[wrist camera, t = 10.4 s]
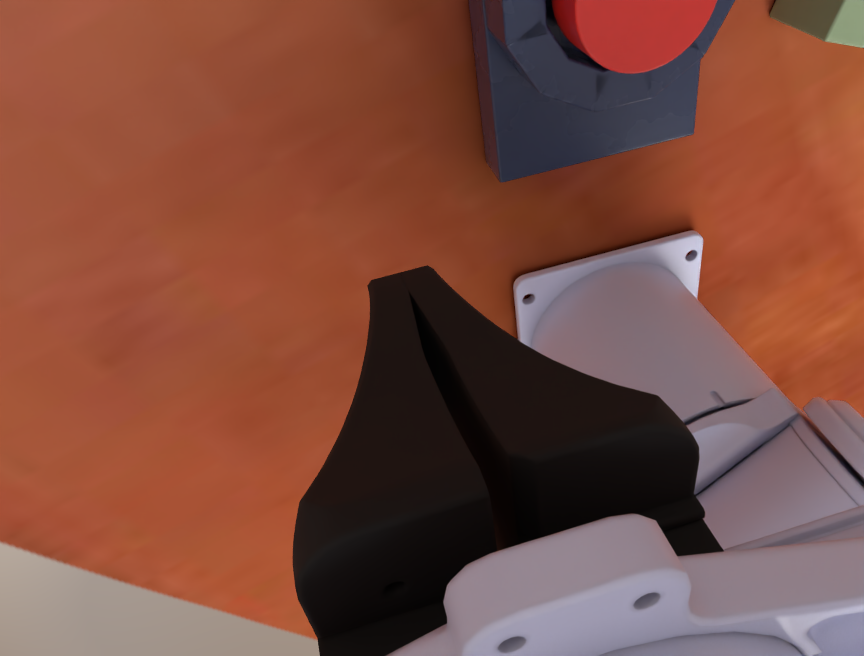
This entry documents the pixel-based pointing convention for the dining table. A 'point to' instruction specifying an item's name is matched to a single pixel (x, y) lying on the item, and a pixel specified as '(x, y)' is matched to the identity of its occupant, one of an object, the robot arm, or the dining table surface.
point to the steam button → (632, 30)
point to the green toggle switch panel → (824, 19)
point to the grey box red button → (571, 92)
